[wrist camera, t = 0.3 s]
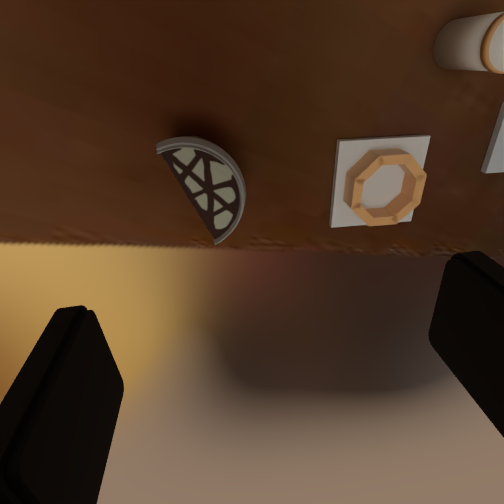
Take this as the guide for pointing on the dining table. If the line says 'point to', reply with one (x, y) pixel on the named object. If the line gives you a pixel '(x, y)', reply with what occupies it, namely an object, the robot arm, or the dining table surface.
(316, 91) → the dining table surface
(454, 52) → the beige peg
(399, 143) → the wide socket
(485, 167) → the narrow socket
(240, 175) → the food container
